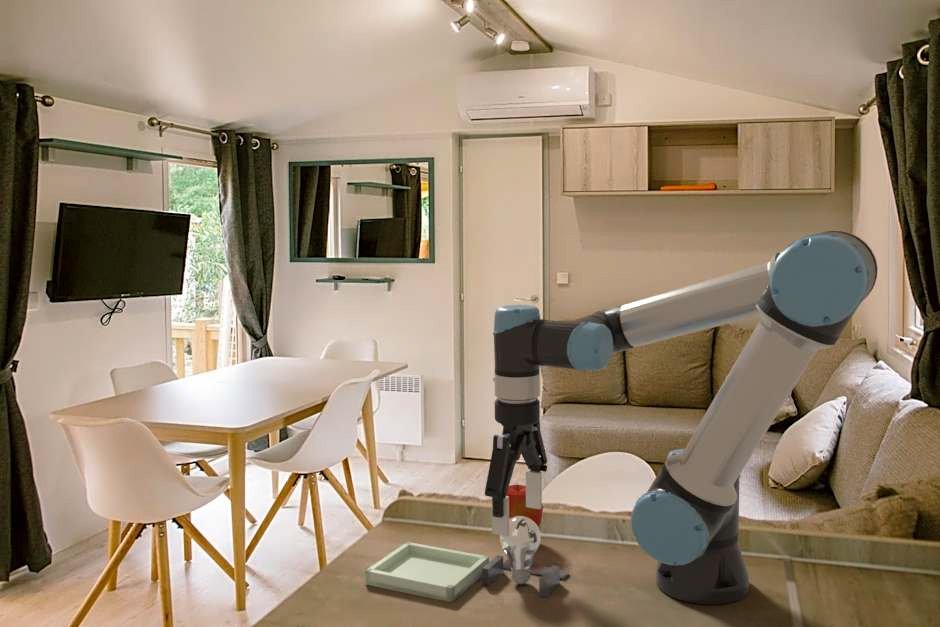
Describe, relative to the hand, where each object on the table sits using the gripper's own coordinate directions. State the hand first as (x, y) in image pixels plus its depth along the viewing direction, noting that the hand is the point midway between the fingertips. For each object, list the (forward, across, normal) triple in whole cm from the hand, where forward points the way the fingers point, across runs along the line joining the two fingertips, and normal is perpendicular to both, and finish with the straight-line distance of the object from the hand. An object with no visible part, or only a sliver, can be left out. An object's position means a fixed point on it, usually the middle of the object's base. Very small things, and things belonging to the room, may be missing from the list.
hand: (517, 520), depth 150 cm
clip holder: (+11, -2, 0) cm, 11 cm away
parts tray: (+12, +4, -16) cm, 20 cm away
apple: (+12, -16, -7) cm, 21 cm away
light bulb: (+12, 0, 0) cm, 12 cm away
